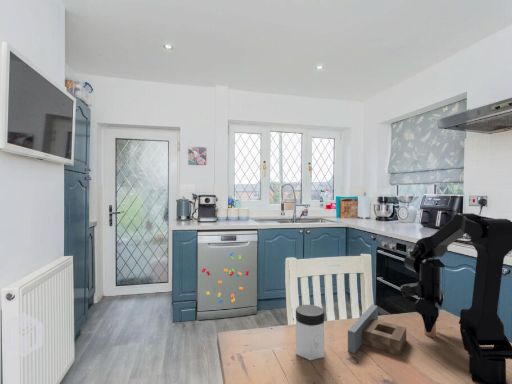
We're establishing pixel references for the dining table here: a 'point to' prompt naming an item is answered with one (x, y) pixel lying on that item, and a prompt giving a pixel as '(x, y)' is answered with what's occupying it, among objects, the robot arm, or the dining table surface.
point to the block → (385, 336)
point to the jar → (310, 332)
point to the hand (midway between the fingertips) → (430, 326)
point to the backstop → (360, 328)
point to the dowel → (433, 331)
